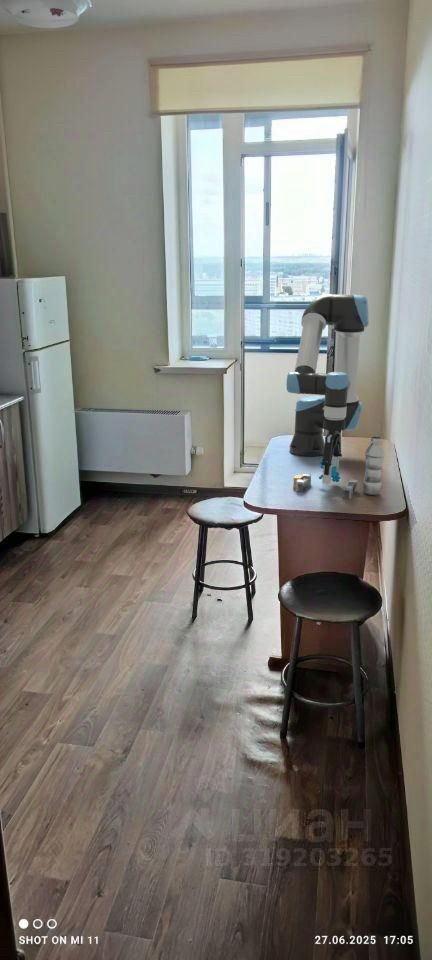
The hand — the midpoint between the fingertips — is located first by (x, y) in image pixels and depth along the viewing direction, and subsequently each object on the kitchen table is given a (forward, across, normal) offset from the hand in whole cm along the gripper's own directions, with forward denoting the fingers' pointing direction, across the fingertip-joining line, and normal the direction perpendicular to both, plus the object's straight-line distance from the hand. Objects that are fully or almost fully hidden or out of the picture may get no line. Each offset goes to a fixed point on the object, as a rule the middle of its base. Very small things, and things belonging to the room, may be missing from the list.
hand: (330, 478), depth 240 cm
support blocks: (+3, +5, 0) cm, 6 cm away
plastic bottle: (+3, +1, +15) cm, 15 cm away
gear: (+1, 0, 0) cm, 1 cm away
